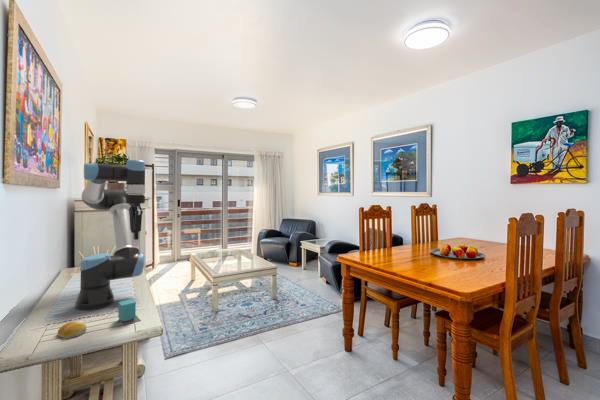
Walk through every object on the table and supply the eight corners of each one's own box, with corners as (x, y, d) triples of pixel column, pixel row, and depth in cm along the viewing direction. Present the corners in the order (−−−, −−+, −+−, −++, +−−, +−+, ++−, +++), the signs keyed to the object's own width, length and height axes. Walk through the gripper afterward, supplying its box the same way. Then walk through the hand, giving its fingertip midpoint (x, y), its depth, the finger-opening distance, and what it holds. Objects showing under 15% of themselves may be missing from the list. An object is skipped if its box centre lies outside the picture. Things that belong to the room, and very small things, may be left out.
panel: (118, 319, 126) (118, 319, 126) (135, 315, 131) (135, 314, 131) (123, 325, 121) (123, 324, 121) (140, 320, 126) (140, 320, 126)
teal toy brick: (118, 317, 126) (118, 302, 126) (132, 314, 130) (132, 299, 130) (121, 321, 122) (121, 305, 122) (135, 317, 126) (135, 302, 126)
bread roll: (68, 340, 109) (68, 330, 109) (53, 335, 112) (53, 325, 112) (92, 331, 116) (92, 320, 116) (77, 326, 120) (77, 316, 120)
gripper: (122, 194, 137) (122, 245, 138) (130, 194, 127) (129, 249, 128) (140, 194, 142) (140, 243, 143) (149, 194, 133) (148, 247, 133)
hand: (135, 246), depth 136 cm, fingers closed
